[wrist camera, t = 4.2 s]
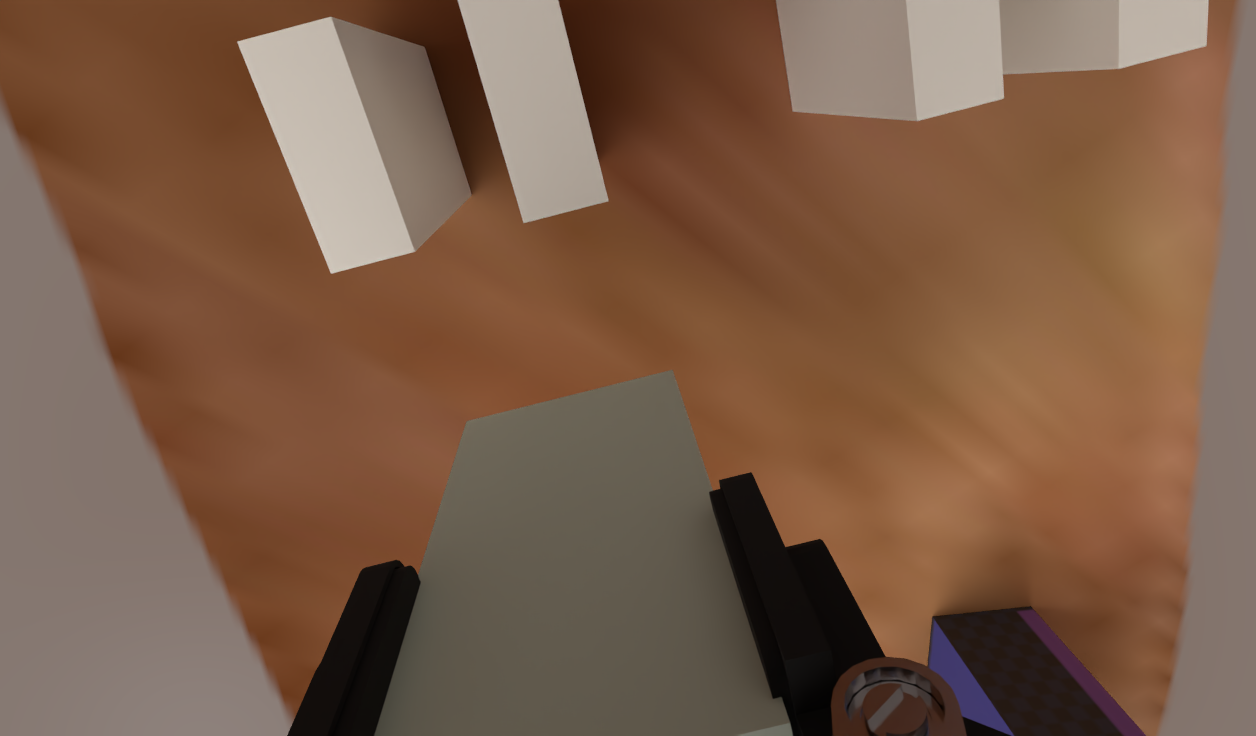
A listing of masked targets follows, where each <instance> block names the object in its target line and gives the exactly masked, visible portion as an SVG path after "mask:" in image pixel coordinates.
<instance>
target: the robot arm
mask: <svg viewBox="0 0 1256 736" xmlns="http://www.w3.org/2000/svg"><path fill="white" fill-rule="evenodd" d="M719 483H720V489H718V490H714V491H710V492H709V495H710V500H711V504H712V508H713V512H714V515H715V519H716V522H717V525H718V528H719V531H720V534H721V537H722V541H723V544H724V547H725V550H726V553H727V556H728V559H729V563H730V566H731V569H732V572H733V575H734V578H735V581H736V585H737V588H738V591H739V594H740V597H741V600H742V603H743V607H744V610H745V613H746V616H747V619H748V622H749V625H750V629H751V632H752V635H753V638H754V641H755V644H756V647H757V651H758V654H759V657H760V660H761V663H762V666H763V669H764V673H765V676H766V679H767V682H768V685H769V688H770V691H771V694H772V698H773V699H775V698H779V697H782V700H783V703H784V706H785V709H786V712H787V715H788V718H789V721H790V724H791V729H792V734H793V736H1011V735H1009V734H1006V733H1004V732H1001V731H998V730H996V729H993V728H991V727H988V726H986V725H983V724H981V723H978V722H976V721H973V720H971V719H968V718H966V717H963V716H962V714H961V710H960V706H959V702H958V700H957V698H956V696H955V694H954V691H953V689H952V688H951V686H950V685H949V684H948V683H947V682H946V681H945V680H944V679H943V678H942V677H941V676H940V675H939V674H938V673H936V672H934V671H933V670H931V669H930V668H928V667H926V666H925V665H923V664H920V663H917V662H914V661H911V660H908V659H904V658H893V657H885V655H884V653H883V651H882V649H881V647H880V645H879V644H878V642H877V640H876V638H875V636H874V634H873V632H872V631H871V629H870V627H869V625H868V623H867V621H866V619H865V618H864V616H863V614H862V612H861V610H860V608H859V606H858V604H857V603H856V601H855V599H854V597H853V595H852V593H851V591H850V590H849V588H848V586H847V584H846V582H845V580H844V578H843V577H842V575H841V573H840V571H839V569H838V567H837V565H836V563H835V562H834V560H833V558H832V556H831V554H830V552H829V550H828V549H827V547H826V545H825V544H824V542H823V541H822V540H821V539H818V540H814V541H810V542H806V543H801V544H797V545H793V546H789V547H785V546H784V544H783V541H782V539H781V537H780V535H779V532H778V530H777V528H776V526H775V523H774V521H773V519H772V517H771V514H770V512H769V510H768V508H767V506H766V503H765V501H764V499H763V497H762V494H761V492H760V490H759V488H758V485H757V483H756V481H755V479H754V476H753V475H752V473H751V472H750V473H746V474H742V475H738V476H734V477H730V478H726V479H722V480H719ZM420 584H421V581H420V579H419V577H418V574H417V572H416V570H415V569H414V568H413V567H412V566H406V567H404V565H403V564H402V563H401V562H400V561H398V560H394V561H390V562H386V563H382V564H378V565H374V566H370V567H366V568H364V569H362V571H361V572H360V574H359V576H358V579H357V581H356V583H355V585H354V588H353V590H352V592H351V595H350V597H349V599H348V602H347V604H346V606H345V608H344V611H343V613H342V615H341V618H340V620H339V622H338V625H337V627H336V629H335V631H334V634H333V636H332V638H331V641H330V643H329V645H328V648H327V650H326V652H325V654H324V657H323V659H322V661H321V663H320V665H319V666H318V668H317V670H316V671H315V674H314V676H313V678H312V680H311V683H310V685H309V687H308V690H307V692H306V694H305V696H304V699H303V701H302V703H301V706H300V708H299V710H298V712H297V715H296V717H295V719H294V722H293V724H292V726H291V728H290V731H289V733H288V735H287V736H374V735H375V732H376V728H377V725H378V722H379V718H380V715H381V712H382V709H383V705H384V702H385V699H386V695H387V692H388V689H389V686H390V682H391V679H392V676H393V672H394V669H395V666H396V663H397V659H398V656H399V653H400V649H401V646H402V643H403V640H404V636H405V633H406V630H407V626H408V623H409V620H410V617H411V613H412V610H413V607H414V603H415V600H416V597H417V594H418V590H419V587H420Z"/></svg>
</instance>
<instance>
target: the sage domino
mask: <svg viewBox="0 0 1256 736" xmlns="http://www.w3.org/2000/svg"><path fill="white" fill-rule="evenodd" d="M710 491H713V490H712V487H711V484H710V481H709V478H708V475H707V472H706V469H705V466H704V463H703V460H702V457H701V454H700V451H699V448H698V445H697V442H696V439H695V436H694V433H693V430H692V427H691V424H690V421H689V418H688V415H687V412H686V409H685V406H684V403H683V400H682V397H681V394H680V391H679V388H678V385H677V382H676V379H675V376H674V373H673V370H670V371H666V372H662V373H658V374H654V375H650V376H646V377H642V378H638V379H634V380H630V381H626V382H622V383H618V384H614V385H610V386H606V387H602V388H598V389H594V390H590V391H586V392H582V393H578V394H574V395H570V396H566V397H562V398H558V399H554V400H550V401H546V402H542V403H538V404H534V405H530V406H526V407H522V408H518V409H514V410H510V411H506V412H502V413H498V414H494V415H490V416H486V417H482V418H478V419H474V420H470V421H467V422H466V425H465V428H464V431H463V434H462V438H461V441H460V444H459V447H458V450H457V453H456V457H455V460H454V463H453V466H452V469H451V472H450V476H449V479H448V482H447V485H446V488H445V492H444V495H443V498H442V501H441V504H440V507H439V511H438V514H437V517H436V520H435V523H434V526H433V530H432V533H431V536H430V539H429V542H428V545H427V549H426V552H425V555H424V558H423V561H422V564H421V568H420V571H419V574H418V577H419V579H420V581H421V584H420V587H419V590H418V594H417V597H416V600H415V603H414V607H413V610H412V613H411V617H410V620H409V623H408V626H407V630H406V633H405V636H404V640H403V643H402V646H401V649H400V653H399V656H398V659H397V663H396V666H395V669H394V672H393V676H392V679H391V682H390V686H389V689H388V692H387V695H386V699H385V702H384V705H383V709H382V712H381V715H380V718H379V722H378V725H377V728H376V732H375V735H374V736H793V734H792V729H791V724H790V721H789V718H788V715H787V712H786V709H785V706H784V703H783V700H782V697H779V698H775V699H773V698H772V694H771V691H770V688H769V685H768V682H767V679H766V676H765V673H764V669H763V666H762V663H761V660H760V657H759V654H758V651H757V647H756V644H755V641H754V638H753V635H752V632H751V629H750V625H749V622H748V619H747V616H746V613H745V610H744V607H743V603H742V600H741V597H740V594H739V591H738V588H737V585H736V581H735V578H734V575H733V572H732V569H731V566H730V563H729V559H728V556H727V553H726V550H725V547H724V544H723V541H722V537H721V534H720V531H719V528H718V525H717V522H716V519H715V515H714V512H713V508H712V504H711V500H710V495H709V492H710Z"/></svg>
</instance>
